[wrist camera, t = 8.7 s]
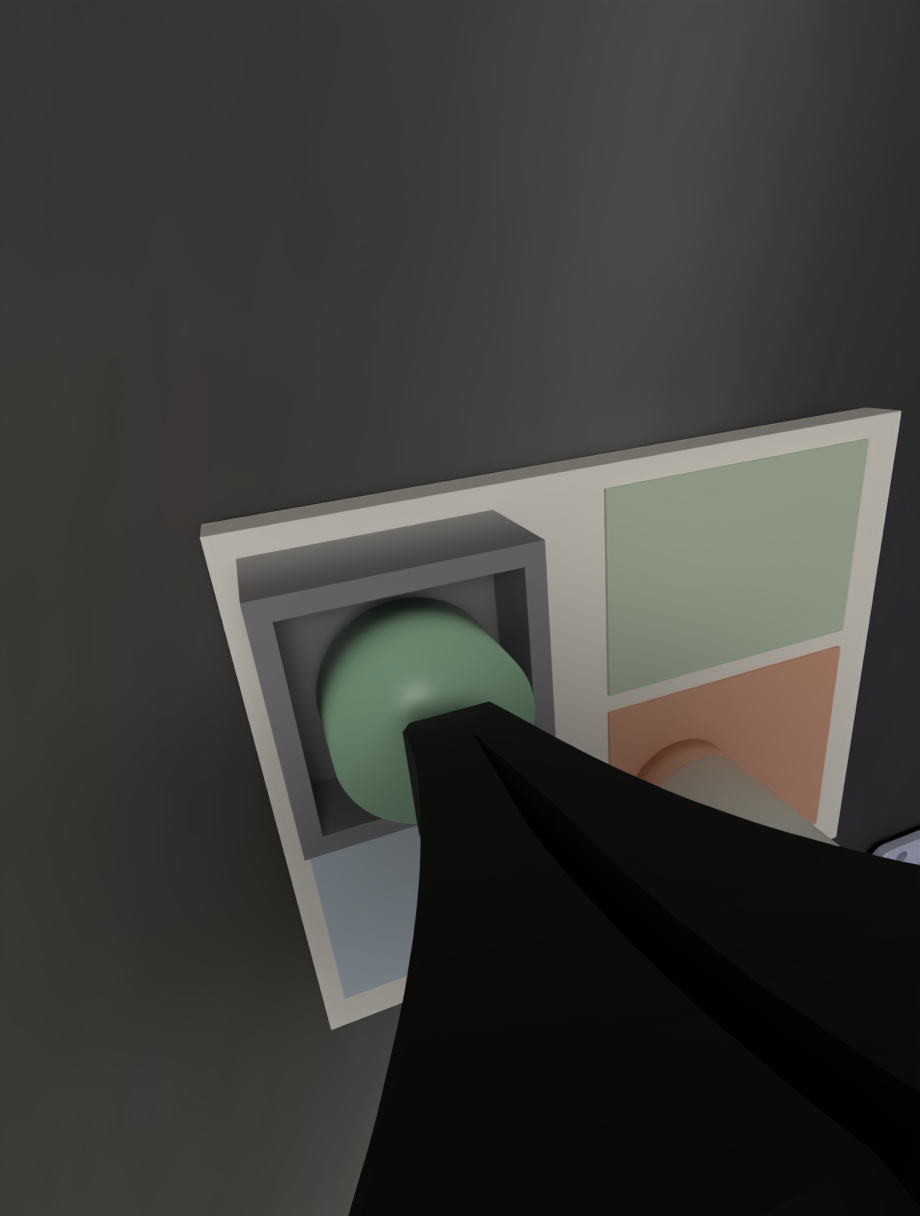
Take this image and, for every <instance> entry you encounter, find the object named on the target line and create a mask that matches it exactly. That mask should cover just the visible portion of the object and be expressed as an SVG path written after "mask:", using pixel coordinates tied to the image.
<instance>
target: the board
mask: <svg viewBox="0 0 920 1216" xmlns="http://www.w3.org/2000/svg"><path fill="white" fill-rule="evenodd" d="M900 417H901V411H898V410H887V409H875V408H860V409H854V410H849V411H843V412H837V413H832V414H826V415H820V416H815V417H809V418H803V419H798V420H792V421H786V422H781V423H775V424H769V425H763V426H758V427H752V428H746V429H741V430H735V431H729V432H724V433H718V434H712V435H707V436H701V437H695V438H690V439H684V440H678V441H672V442H667V443H661V444H655V445H650V446H644V447H638V448H633V449H627V450H621V451H616V452H610V453H604V454H599V455H593V456H587V457H581V458H576V459H570V460H564V461H559V462H553V463H547V464H542V465H536V466H530V467H525V468H519V469H513V470H508V471H502V472H496V473H490V474H485V475H479V476H473V477H468V478H462V479H456V480H451V481H445V482H439V483H434V484H428V485H422V486H417V487H411V488H405V489H399V490H394V491H388V492H382V493H377V494H371V495H365V496H360V497H354V498H348V499H343V500H337V501H331V502H326V503H320V504H314V505H308V506H303V507H297V508H291V509H286V510H280V511H274V512H269V513H263V514H257V515H252V516H246V517H240V518H235V519H229V520H223V521H217V522H212V523H206V524H201V532H200V539H201V543H202V547H203V551H204V554H205V558H206V562H207V566H208V569H209V573H210V577H211V581H212V584H213V588H214V592H215V596H216V599H217V603H218V607H219V611H220V614H221V618H222V622H223V626H224V629H225V633H226V637H227V641H228V644H229V648H230V652H231V656H232V659H233V663H234V667H235V671H236V674H237V678H238V682H239V686H240V689H241V693H242V697H243V701H244V704H245V708H246V712H247V716H248V719H249V723H250V727H251V731H252V734H253V738H254V742H255V746H256V749H257V753H258V757H259V761H260V764H261V768H262V772H263V776H264V779H265V783H266V787H267V791H268V794H269V798H270V802H271V805H272V809H273V813H274V817H275V820H276V824H277V828H278V832H279V835H280V839H281V843H282V847H283V850H284V854H285V858H286V862H287V865H288V869H289V873H290V877H291V880H292V884H293V888H294V892H295V895H296V899H297V903H298V907H299V910H300V914H301V918H302V922H303V925H304V929H305V933H306V937H307V940H308V944H309V948H310V952H311V955H312V959H313V963H314V967H315V970H316V974H317V978H318V982H319V985H320V989H321V993H322V997H323V1000H324V1004H325V1008H326V1012H327V1015H328V1019H329V1023H330V1027H331V1030H332V1029H335V1028H338V1027H340V1026H343V1025H345V1024H348V1023H351V1022H353V1021H356V1020H358V1019H361V1018H364V1017H366V1016H369V1015H372V1014H374V1013H377V1012H379V1011H382V1010H385V1009H387V1008H390V1007H392V1006H395V1005H398V1004H400V1003H402V1002H403V996H404V991H405V985H406V979H407V972H408V966H409V960H410V953H411V947H412V941H413V933H414V925H415V916H416V907H417V897H418V885H419V871H420V835H419V832H418V826H414V827H411V828H408V829H405V830H401V831H398V832H395V833H392V834H389V835H385V836H382V837H379V838H376V839H373V840H369V841H366V842H363V843H360V844H357V845H353V846H350V847H347V848H344V849H341V850H337V851H334V852H331V853H328V854H325V855H322V856H318V857H315V858H312V859H309V860H306V861H305V860H304V856H303V852H302V848H301V844H300V840H299V836H298V832H297V828H296V824H295V820H294V817H293V813H292V809H291V805H290V801H289V797H288V793H287V789H286V785H285V781H284V777H283V773H282V769H281V765H280V761H279V757H278V753H277V749H276V745H275V741H274V737H273V733H272V729H271V725H270V722H269V718H268V714H267V710H266V706H265V702H264V698H263V694H262V690H261V686H260V682H259V678H258V674H257V670H256V666H255V662H254V658H253V654H252V650H251V646H250V642H249V638H248V634H247V631H246V627H245V623H244V619H243V615H242V611H241V607H240V601H239V589H238V577H237V566H236V559H238V558H243V557H248V556H253V555H258V554H264V553H269V552H274V551H279V550H285V549H290V548H295V547H300V546H306V545H311V544H316V543H321V542H326V541H332V540H337V539H342V538H347V537H353V536H358V535H363V534H368V533H374V532H379V531H384V530H389V529H394V528H400V527H405V526H410V525H415V524H421V523H426V522H431V521H436V520H442V519H447V518H452V517H457V516H463V515H468V514H473V513H478V512H483V511H489V510H494V511H496V512H498V513H500V514H501V515H503V516H505V517H506V518H508V519H510V520H512V521H513V522H515V523H517V524H518V525H520V526H522V527H524V528H525V529H527V530H529V531H530V532H532V533H534V534H536V535H537V536H539V537H541V538H542V539H544V540H545V548H546V566H547V585H548V603H549V622H550V640H551V659H552V677H553V696H554V714H555V733H556V738H558V739H560V740H562V741H564V742H566V743H568V744H570V745H572V746H574V747H576V748H577V749H579V750H581V751H583V752H585V753H587V754H589V755H591V756H593V757H595V758H597V759H599V760H601V761H603V762H605V763H608V764H610V765H612V766H614V767H616V768H618V769H620V770H622V771H624V772H627V773H629V774H631V775H634V776H637V775H638V773H639V772H640V770H641V769H642V767H643V766H644V765H645V764H646V763H647V762H648V761H649V760H650V759H651V758H652V757H653V756H654V755H655V754H657V753H658V752H659V751H661V750H662V749H664V748H665V747H667V746H669V745H671V744H673V743H676V742H678V741H682V740H686V739H702V740H706V741H709V742H711V743H712V744H714V745H715V746H716V747H718V748H719V749H720V750H721V751H723V752H724V753H725V754H726V755H728V756H729V757H730V758H731V759H733V760H734V761H735V762H736V763H737V764H739V766H740V767H741V768H743V769H744V770H745V771H746V772H748V773H749V774H750V775H751V776H753V777H754V778H755V779H756V780H758V781H759V782H760V783H761V784H763V785H764V786H765V787H766V788H768V789H769V790H770V791H771V792H773V793H774V794H775V795H776V796H778V797H779V798H780V799H781V800H783V801H784V802H785V803H786V804H788V805H789V806H790V807H791V808H793V809H794V810H795V811H796V812H798V813H799V814H800V815H801V816H803V817H804V818H805V819H806V820H808V821H809V822H810V823H811V824H813V825H814V826H815V827H816V828H818V829H819V830H820V831H821V832H823V833H824V834H825V835H826V836H828V837H829V838H830V839H832V838H834V837H836V833H837V827H838V820H839V814H840V807H841V801H842V794H843V788H844V781H845V775H846V768H847V762H848V755H849V749H850V742H851V736H852V729H853V723H854V716H855V710H856V703H857V696H858V690H859V683H860V677H861V670H862V664H863V657H864V651H865V644H866V638H867V631H868V625H869V618H870V612H871V605H872V599H873V592H874V586H875V579H876V573H877V566H878V560H879V553H880V547H881V540H882V534H883V527H884V521H885V514H886V508H887V501H888V495H889V488H890V482H891V475H892V469H893V462H894V456H895V449H896V443H897V436H898V430H899V423H900Z"/></svg>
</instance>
